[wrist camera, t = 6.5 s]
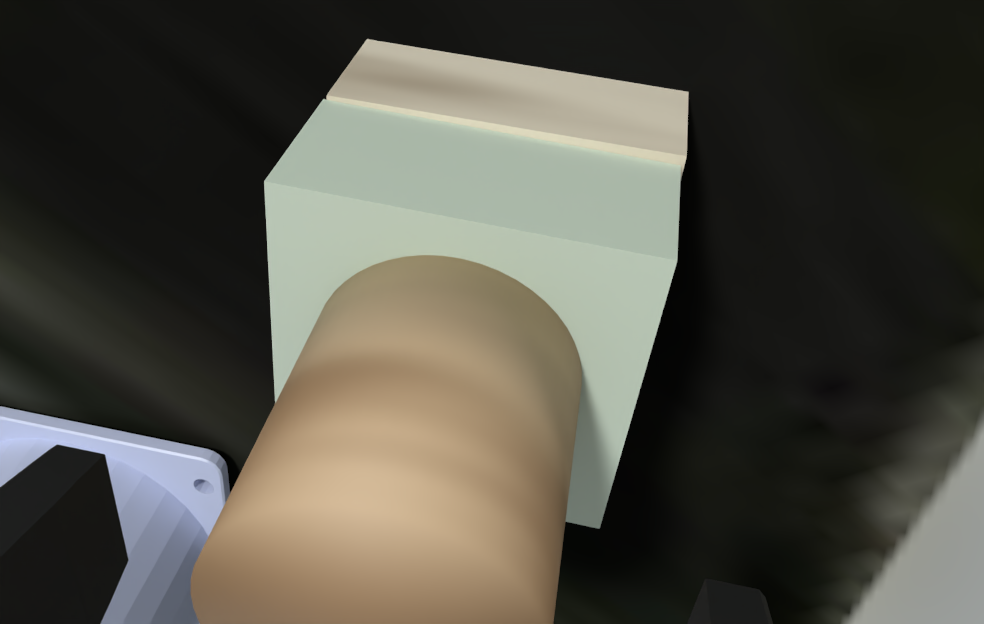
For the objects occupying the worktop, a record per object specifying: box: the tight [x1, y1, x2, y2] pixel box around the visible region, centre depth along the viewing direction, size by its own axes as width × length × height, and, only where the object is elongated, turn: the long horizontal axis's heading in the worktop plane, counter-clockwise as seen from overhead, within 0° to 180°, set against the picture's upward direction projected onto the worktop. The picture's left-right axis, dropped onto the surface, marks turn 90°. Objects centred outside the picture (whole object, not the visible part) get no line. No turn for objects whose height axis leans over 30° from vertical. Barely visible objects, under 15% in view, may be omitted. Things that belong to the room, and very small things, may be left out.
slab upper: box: [264, 99, 681, 529], centre depth 15 cm, size 6×6×2 cm
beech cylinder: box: [191, 255, 582, 624], centre depth 12 cm, size 4×4×4 cm
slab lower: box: [327, 39, 689, 181], centre depth 17 cm, size 6×6×2 cm
